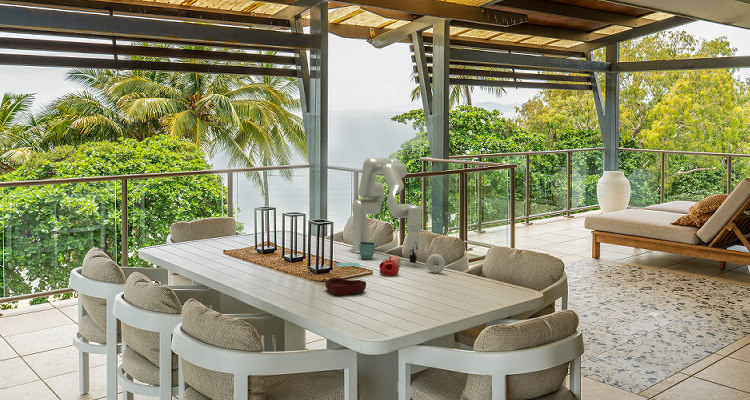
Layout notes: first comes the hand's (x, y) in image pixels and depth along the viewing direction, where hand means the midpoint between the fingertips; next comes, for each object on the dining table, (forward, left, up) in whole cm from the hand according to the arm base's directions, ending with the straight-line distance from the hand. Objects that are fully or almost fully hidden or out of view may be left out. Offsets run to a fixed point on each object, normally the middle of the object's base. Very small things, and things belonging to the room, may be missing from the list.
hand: (412, 262), depth 358 cm
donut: (+18, +8, -2) cm, 20 cm away
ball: (0, -10, +1) cm, 10 cm away
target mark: (0, -35, -2) cm, 35 cm away
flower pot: (-19, -23, -2) cm, 30 cm away
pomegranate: (+23, -17, -2) cm, 28 cm away
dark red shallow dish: (+60, -43, -3) cm, 74 cm away
